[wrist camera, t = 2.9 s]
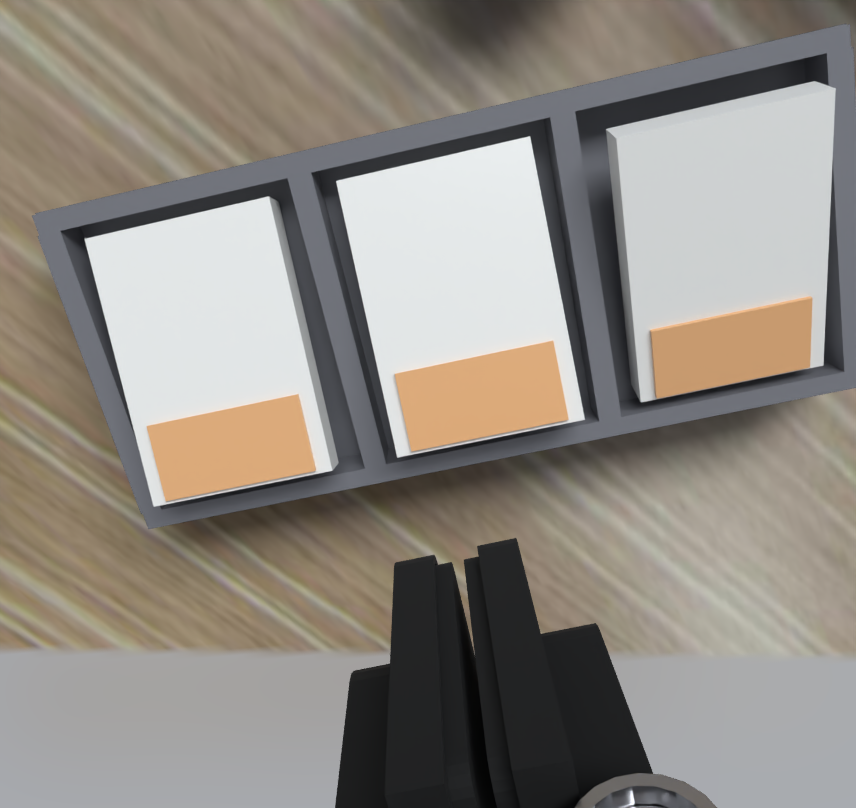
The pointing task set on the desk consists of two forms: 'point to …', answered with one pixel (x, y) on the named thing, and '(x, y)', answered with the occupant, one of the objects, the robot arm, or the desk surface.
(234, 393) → the rocker
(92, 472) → the desk surface
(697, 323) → the rocker
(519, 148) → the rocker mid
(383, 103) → the desk surface
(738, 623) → the desk surface
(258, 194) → the strip
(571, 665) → the robot arm
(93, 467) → the desk surface
